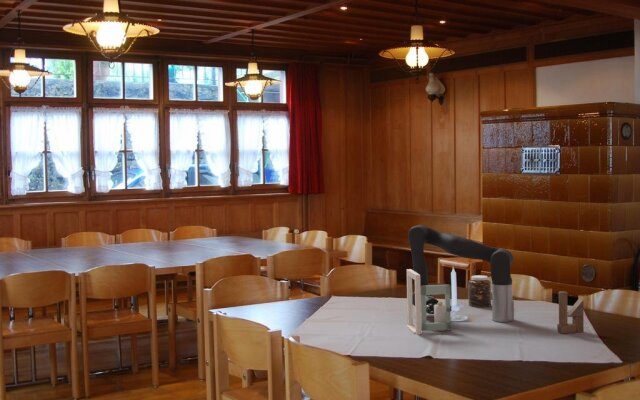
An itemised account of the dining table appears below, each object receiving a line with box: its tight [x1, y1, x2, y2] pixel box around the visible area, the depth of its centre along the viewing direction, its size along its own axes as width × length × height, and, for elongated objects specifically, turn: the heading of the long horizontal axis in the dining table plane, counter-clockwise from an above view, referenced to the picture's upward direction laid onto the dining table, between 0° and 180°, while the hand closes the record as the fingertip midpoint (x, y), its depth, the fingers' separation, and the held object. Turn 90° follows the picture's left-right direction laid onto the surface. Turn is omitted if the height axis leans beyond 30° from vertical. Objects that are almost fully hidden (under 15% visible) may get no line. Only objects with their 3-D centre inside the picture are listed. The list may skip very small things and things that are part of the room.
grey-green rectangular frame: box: [420, 284, 452, 332], centre depth 346 cm, size 13×3×20 cm, turn 96°
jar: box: [467, 274, 492, 308], centre depth 405 cm, size 12×12×15 cm
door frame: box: [406, 268, 423, 336], centre depth 352 cm, size 4×18×26 cm, turn 6°
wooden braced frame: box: [556, 290, 585, 335], centre depth 340 cm, size 4×11×18 cm, turn 102°
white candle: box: [433, 301, 447, 332], centre depth 352 cm, size 5×5×13 cm
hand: (439, 311), depth 353 cm, fingers open, 8 cm apart
